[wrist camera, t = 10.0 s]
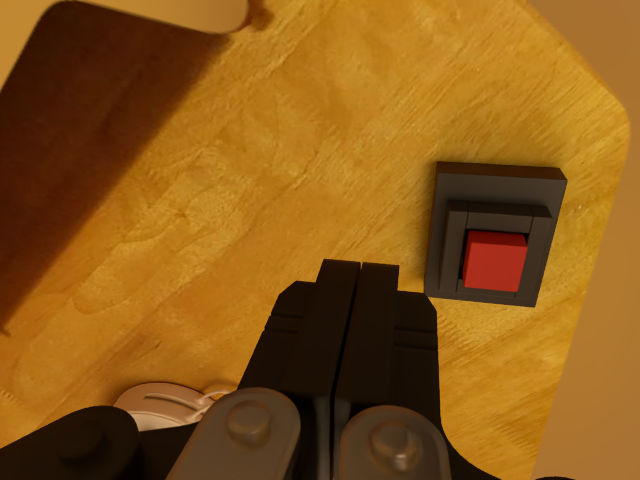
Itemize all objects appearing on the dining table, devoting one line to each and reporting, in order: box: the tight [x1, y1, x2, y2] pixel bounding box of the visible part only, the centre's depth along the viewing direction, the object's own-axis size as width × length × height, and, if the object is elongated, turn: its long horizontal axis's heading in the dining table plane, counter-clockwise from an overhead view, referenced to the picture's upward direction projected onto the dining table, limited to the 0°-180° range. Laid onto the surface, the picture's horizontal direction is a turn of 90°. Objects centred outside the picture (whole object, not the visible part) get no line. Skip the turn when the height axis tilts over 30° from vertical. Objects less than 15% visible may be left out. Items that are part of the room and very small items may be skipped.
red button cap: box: [462, 230, 528, 292], centre depth 32 cm, size 3×3×2 cm
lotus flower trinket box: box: [113, 383, 233, 431], centre depth 50 cm, size 7×16×20 cm
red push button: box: [424, 162, 568, 308], centre depth 34 cm, size 10×8×4 cm
